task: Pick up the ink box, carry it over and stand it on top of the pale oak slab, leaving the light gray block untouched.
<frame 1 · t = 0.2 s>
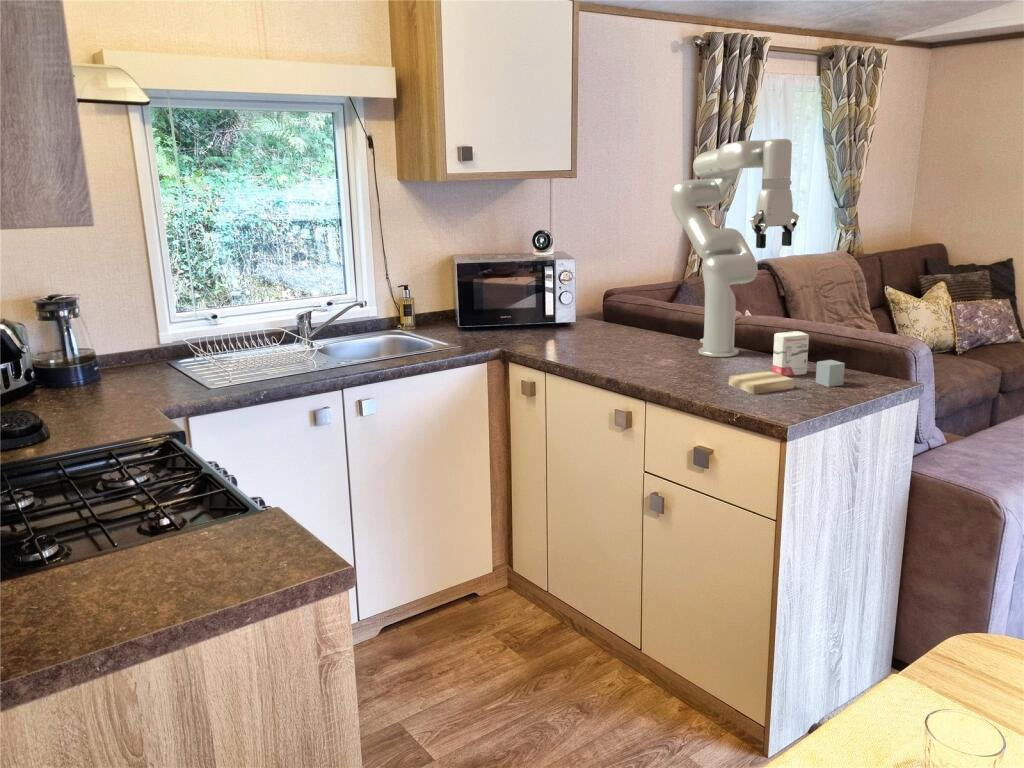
hand: (773, 246, 228), 36 cm above the worktop, tool pointing down, fingers open, 9 cm apart
light gray block: (829, 383, 219), on the worktop
oak slab: (760, 388, 218), on the worktop
ink box: (789, 374, 231), on the worktop
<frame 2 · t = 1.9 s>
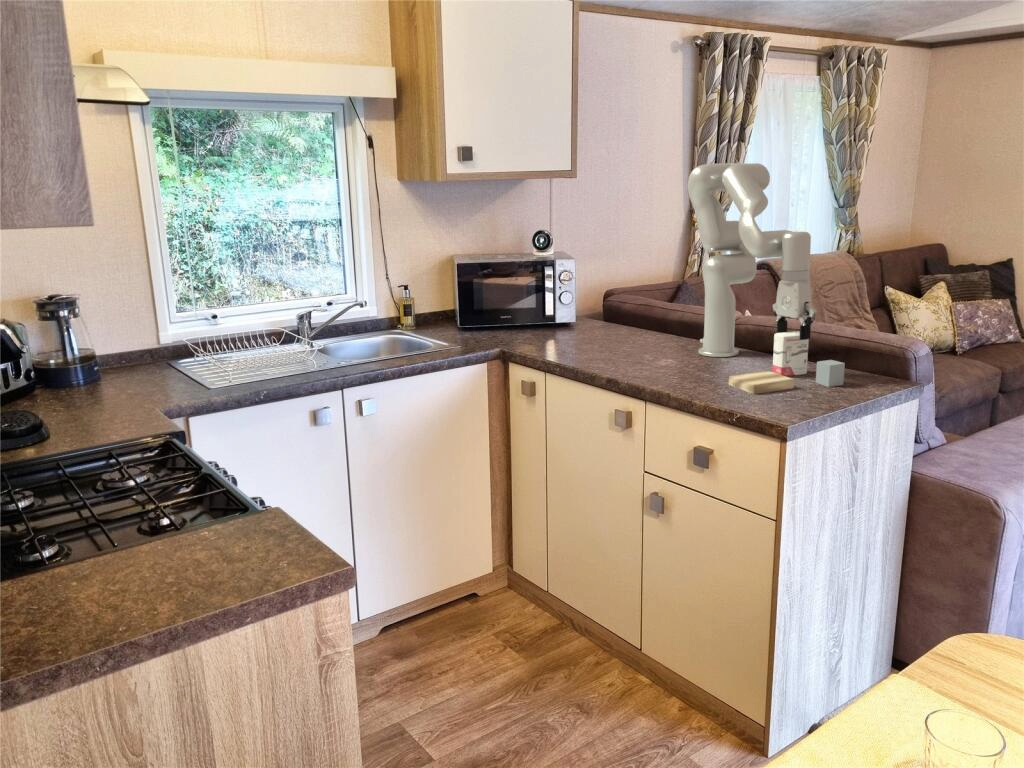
hand: (793, 336, 227), 11 cm above the worktop, tool pointing down, fingers open, 9 cm apart
nothing on the worktop moved.
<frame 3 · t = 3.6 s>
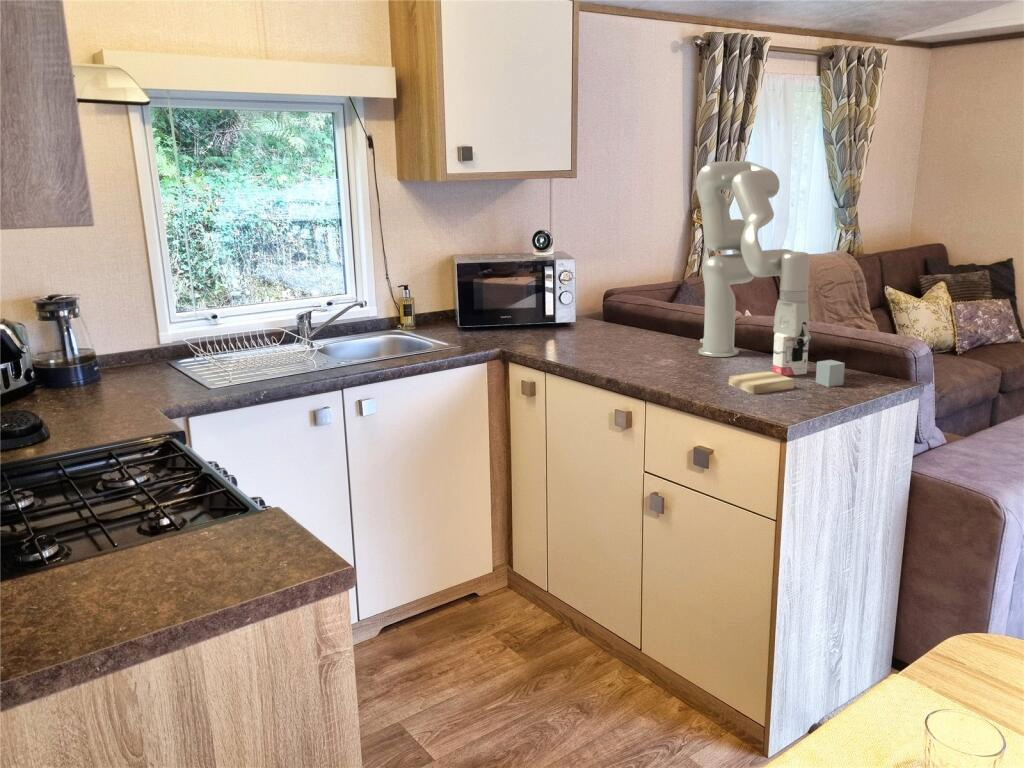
hand: (790, 358, 230), 4 cm above the worktop, tool pointing down, fingers closed on ink box, 5 cm apart
ink box: (789, 374, 231), on the worktop, touching gripper
everything else where it was.
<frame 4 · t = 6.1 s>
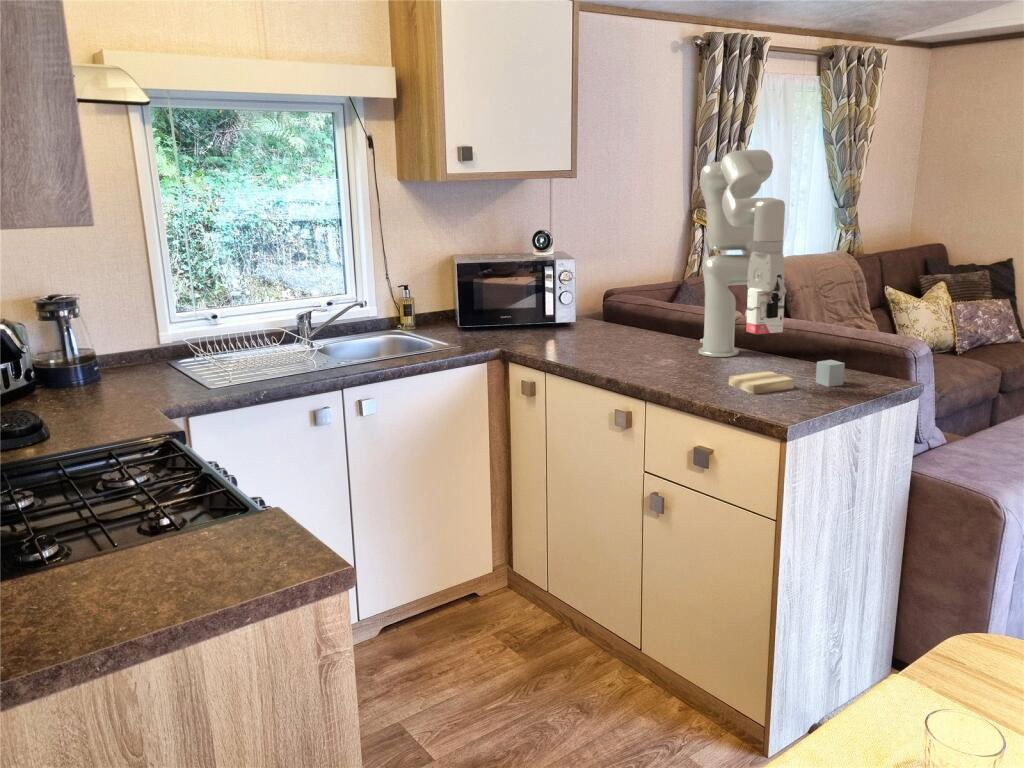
hand: (764, 315, 213), 20 cm above the worktop, tool pointing down, fingers closed on ink box, 5 cm apart
ink box: (764, 332, 215), point 15 cm above the worktop, touching gripper
everything else where it was.
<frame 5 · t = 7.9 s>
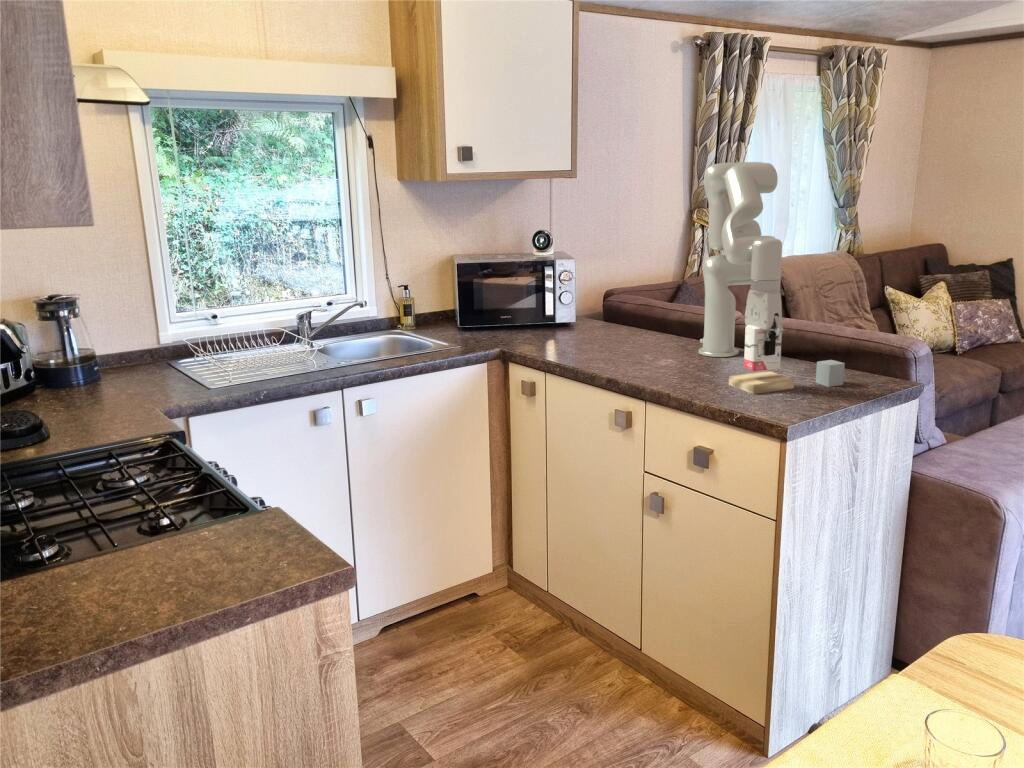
hand: (762, 352, 216), 10 cm above the worktop, tool pointing down, fingers closed on ink box, 5 cm apart
ink box: (761, 369, 217), point 5 cm above the worktop, touching gripper
everything else where it was.
when the fingers open (8 cm above the worktop, at t = 9.0 s): ink box drops 2 cm, resting on oak slab.
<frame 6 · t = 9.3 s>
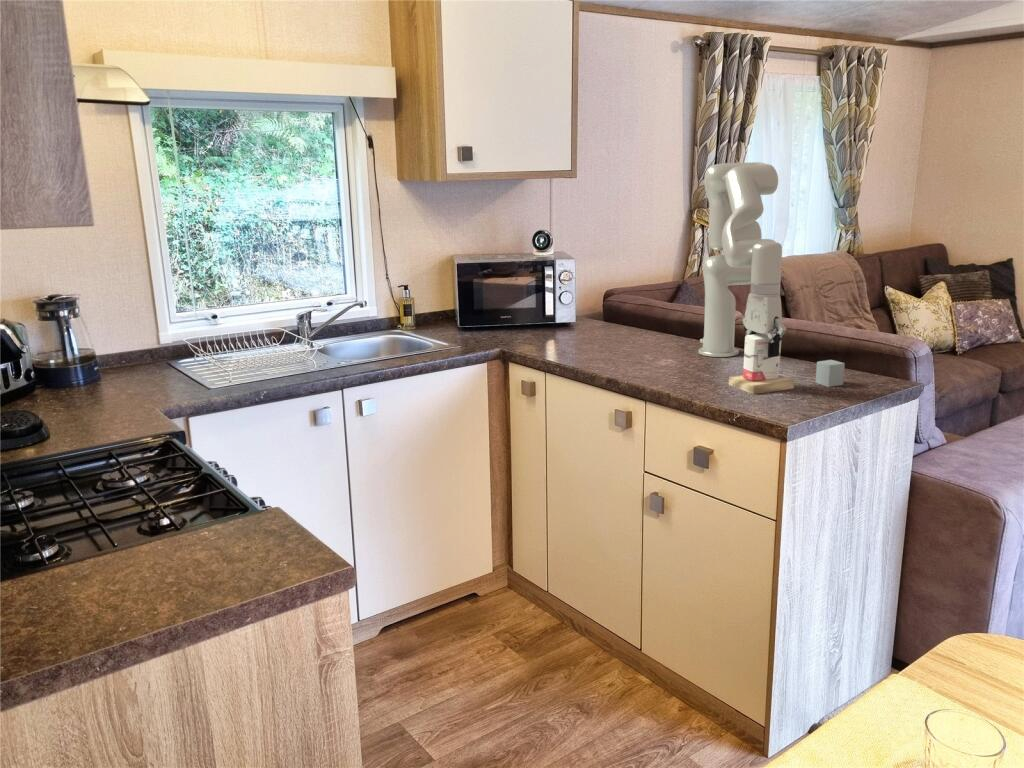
hand: (762, 353, 216), 9 cm above the worktop, tool pointing down, fingers open, 8 cm apart
oak slab: (760, 389, 218), on the worktop, touching ink box
ink box: (760, 378, 218), point 2 cm above the worktop, touching oak slab
everything else where it was.
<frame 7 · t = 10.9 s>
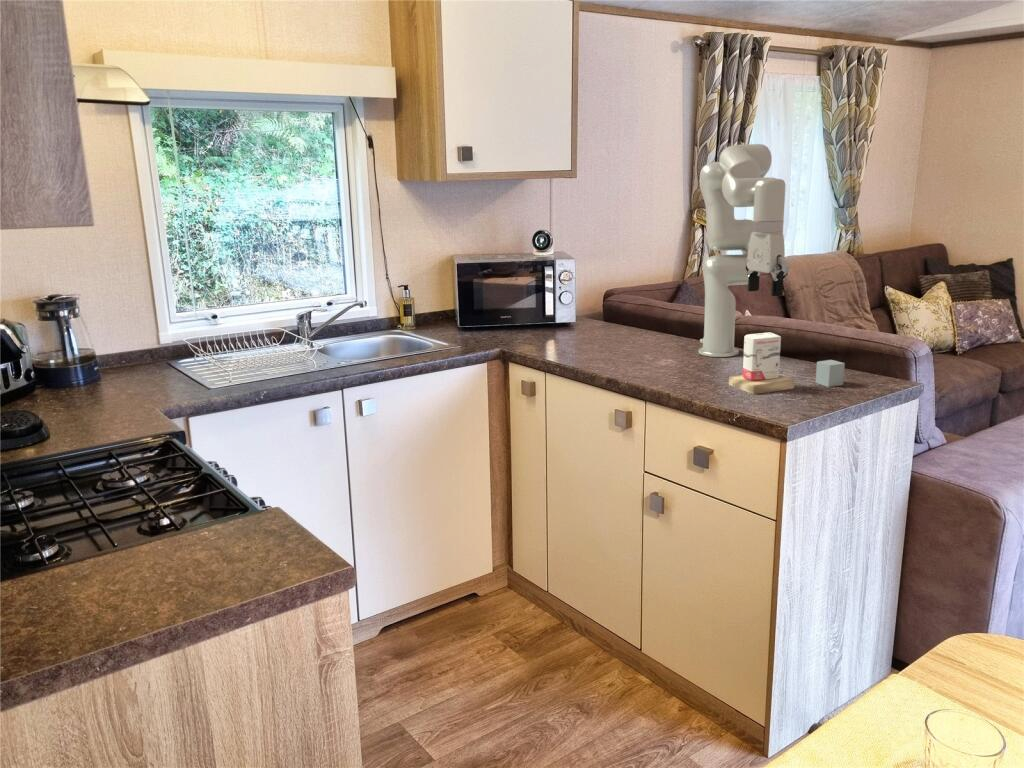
hand: (764, 293, 212), 26 cm above the worktop, tool pointing down, fingers open, 9 cm apart
nothing on the worktop moved.
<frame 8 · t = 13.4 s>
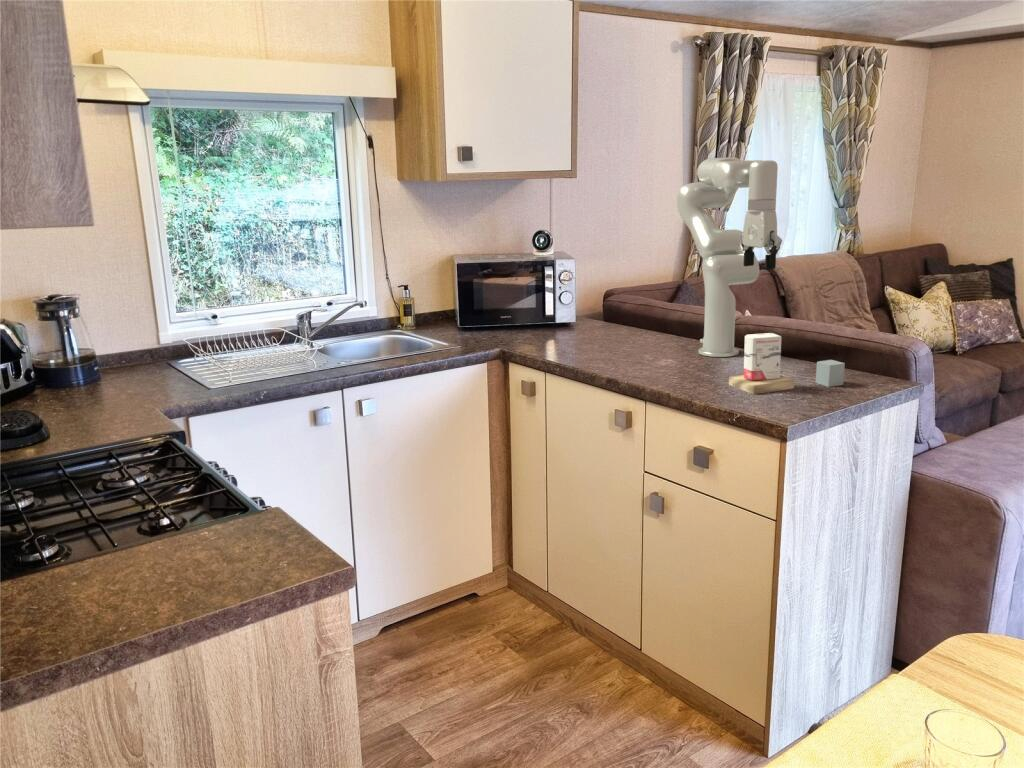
hand: (759, 267, 228), 30 cm above the worktop, tool pointing down, fingers open, 9 cm apart
oak slab: (760, 389, 218), on the worktop
ink box: (761, 378, 218), point 2 cm above the worktop
everything else where it was.
at the end: ink box inside the target area on the oak slab (0.1 cm from its centre), point 2.9 cm above the oak slab's base; ink box tilted 2°; the gripper is holding nothing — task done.
